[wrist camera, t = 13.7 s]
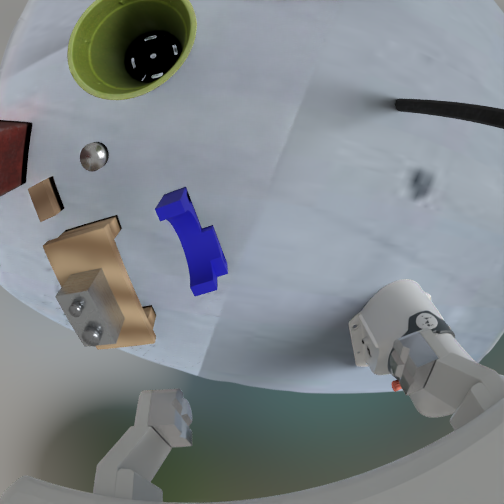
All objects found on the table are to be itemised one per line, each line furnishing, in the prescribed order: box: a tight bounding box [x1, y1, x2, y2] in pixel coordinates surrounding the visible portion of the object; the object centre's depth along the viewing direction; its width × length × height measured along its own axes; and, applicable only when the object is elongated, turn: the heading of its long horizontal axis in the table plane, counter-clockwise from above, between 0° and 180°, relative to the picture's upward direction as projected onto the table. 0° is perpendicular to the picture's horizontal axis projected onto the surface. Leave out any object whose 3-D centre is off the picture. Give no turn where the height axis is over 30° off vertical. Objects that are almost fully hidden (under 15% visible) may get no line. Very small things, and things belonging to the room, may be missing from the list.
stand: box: [43, 215, 156, 349], centre depth 37 cm, size 18×10×6 cm, turn 9°
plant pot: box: [67, 0, 197, 100], centre depth 22 cm, size 12×12×11 cm
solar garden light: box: [395, 99, 504, 129], centre depth 19 cm, size 12×12×30 cm
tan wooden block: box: [28, 176, 64, 222], centre depth 31 cm, size 5×3×3 cm, turn 13°
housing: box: [55, 268, 125, 346], centre depth 31 cm, size 5×8×6 cm, turn 9°
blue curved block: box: [155, 187, 228, 296], centre depth 35 cm, size 12×4×6 cm, turn 16°
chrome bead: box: [80, 142, 109, 171], centre depth 31 cm, size 4×4×2 cm
